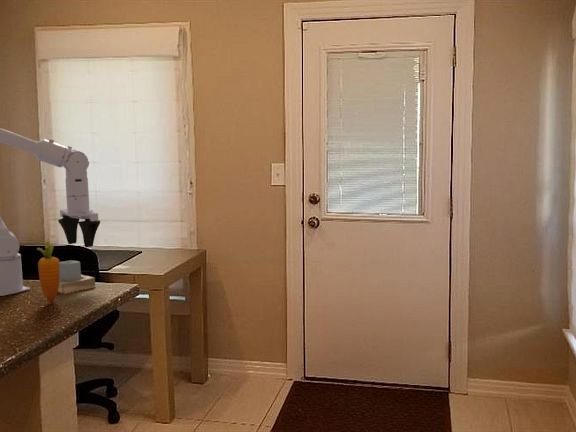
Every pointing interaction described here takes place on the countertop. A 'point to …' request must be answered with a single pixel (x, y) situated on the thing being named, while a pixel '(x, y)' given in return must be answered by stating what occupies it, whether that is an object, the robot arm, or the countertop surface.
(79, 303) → the countertop surface
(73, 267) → the slate square peg
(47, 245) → the carrot
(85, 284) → the birch well block
